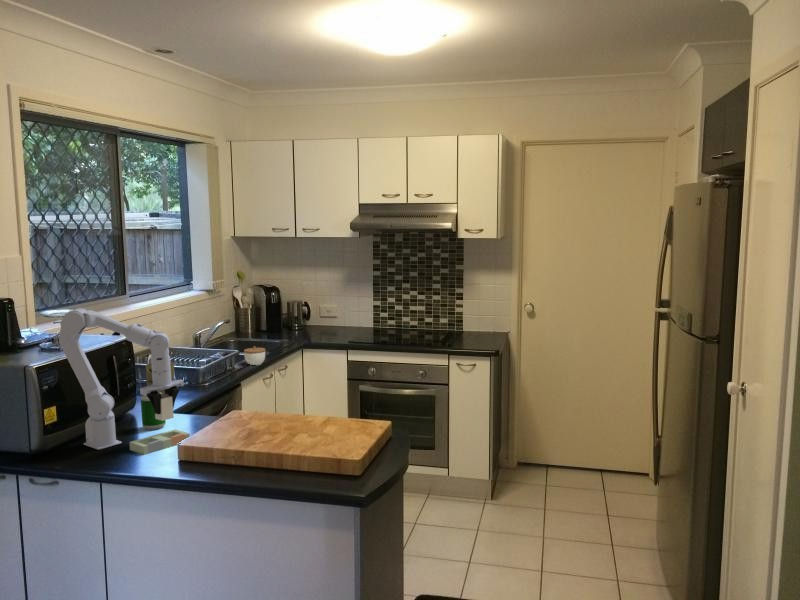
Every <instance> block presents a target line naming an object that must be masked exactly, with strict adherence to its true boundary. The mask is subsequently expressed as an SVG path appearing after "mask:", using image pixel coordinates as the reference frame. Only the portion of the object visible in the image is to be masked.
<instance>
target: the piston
mask: <svg viewBox="0 0 800 600" xmlns="http://www.w3.org/2000/svg"><path fill="white" fill-rule="evenodd" d="M170 366H171V381H174V380H176V378H174V377H175V376H176V375H175V363H174V362H173V361H172V362H171V363H170ZM145 376H146V377H145V378H146V386H149V385H152V384H153V380H152V365H151V362H149V363H146V364H145ZM158 392H161V393H162V394H165V391H164V390H161V391H158Z"/></svg>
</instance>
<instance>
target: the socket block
mask: <svg viewBox="0 0 800 600" xmlns="http://www.w3.org/2000/svg"><path fill="white" fill-rule="evenodd" d="M190 435H191V434H190V433H189V432H186V431H183V430H179V429H171V430H168V431H165V432H161V433H157V434H154V435H150V436H147V437H142V438H139V439H134V440H132V441H129V451H132V452H135V453H138V454H141V455H149V454H150V453H155V452H158V451H161V449H162V450H164V448H165V449H168V448H171V447H170V446H172V447H174V446H173V445H175V446H177V445H176V444H177V443H179V442H181V441H182V440H184V439H186V438H188V437H190V438H191V436H190ZM167 447H168V448H167Z"/></svg>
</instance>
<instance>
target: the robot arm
mask: <svg viewBox="0 0 800 600" xmlns="http://www.w3.org/2000/svg"><path fill="white" fill-rule="evenodd" d="M95 327H96V328H97V327H100V328H103V329H105V330H109V331H112V332H116V333H118V334H120V335H124V337H125V340H126V341H128V342H131V343H134V344H136V345H139V346H141V347H144V348H149V351H150V353H151V357H150V363H151V365H152V380H153V384H152V385H149V386H147V385H146V386H144V387H143V386H142V387H140V388H139V393H140V395H141V396H143V395H147V397H148V398H149V400H150V401H151V403H152V406H153V408H154V411H155V414H161V407H160V401H161V395H162V394H159V392H158V391H161V390H164V391H165V394H168V396H172V402H173V409H174V407H175V402H176V399H177V397H178V394H179V392H180V388H179V387H184V386H185V384H184V383H185V382H184V379H175V380H174V381H171V366H170V364H171V356H170V350H169V349H170V348H169V346H170V342H171V341H170V337H169V335H167V334H166V333H164V332H163V331H158V330H157V329H154V328H153V330H152V329H150V328H148V327H145V326H143V324H142V323H139V322H138V323H131V324H130V325H129V324H127V323H124V322H122V321H119V320H117V319H115V318H112V317H110V316H107V315H105V314H102V313H101V312H99V311H98V312H97V311H95V310H91V309H87V308H84V307H76V308H75V309H73V310H70V311H68V312H66V313H65V314H64V316H63V317H62V319H61V320H60V331H59V338H58V343H59V345H60V347H61V349H62V351H63V353H64V355H65V357H66V359H67V361H68V363H69V364H70V367H71V369H72V370H73V371H72V372H74V374H75V376H76V378H77V380H78V382H79V385H80V386H81V389H82V390H83V393H84V398H85V402H86V405H87V414H88V415H89V417H88V418H87V419H86V421H85V425H84V428H85V439H86V442H84V443H83V445H84V446H86V447H90V448H92V449H95V450H103V449H106V448H109V447H112V446H116V445H120V444H122V443H123V442H122V441H121V440H118V439H117V436H116V435H117V434H116V433H117V432H116V422H115V421H116V419H115V413H114V412H113V409H114V406H115V399H114V397H113V396H112V395H110V394H109V393H108V392H107V390H106V389H105V387H104V386H102V385H101V382H100V380H99V379H98V377H97V375H96V372H95V371H94V369H93V367H92V365H91V363H90V361H89V358H87V354H86V353H85V351H84V349H83V347H82V345H81V343H80V341H79V340H80V338H81V335H82V333H83V331H84V330H85V329H86V328H87V329H88V328H89V329H90V328H95Z"/></svg>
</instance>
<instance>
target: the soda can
mask: <svg viewBox="0 0 800 600" xmlns="http://www.w3.org/2000/svg"><path fill="white" fill-rule="evenodd" d="M159 394H162V393H161V392H159ZM140 409H141V421H142V422H141V425H142V427H143V428H144V429H145V430H146V429H147V431H154V429H156V430H160V429H163V427H164V426H165V425H166V420H163V421H162V420H158V419H155V411H154V408H153V406H152V403H151V401H150V400H149V398H148V397H147V395H141V397H140ZM159 428H160V429H159Z"/></svg>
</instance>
